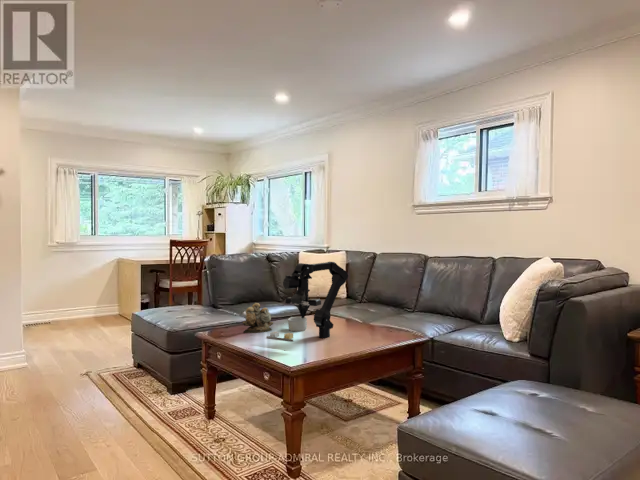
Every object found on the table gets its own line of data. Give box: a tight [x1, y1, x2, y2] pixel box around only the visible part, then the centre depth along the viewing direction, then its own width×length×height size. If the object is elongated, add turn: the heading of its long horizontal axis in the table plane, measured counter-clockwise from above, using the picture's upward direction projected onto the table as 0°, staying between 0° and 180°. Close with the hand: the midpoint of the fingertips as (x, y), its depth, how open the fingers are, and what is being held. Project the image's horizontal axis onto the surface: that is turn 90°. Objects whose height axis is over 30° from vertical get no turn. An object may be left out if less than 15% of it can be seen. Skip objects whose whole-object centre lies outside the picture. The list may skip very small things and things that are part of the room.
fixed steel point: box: [269, 331, 280, 338], centre depth 237 cm, size 6×3×2 cm, turn 151°
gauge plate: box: [266, 335, 294, 342], centre depth 236 cm, size 14×19×2 cm
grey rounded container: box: [287, 316, 308, 332], centre depth 257 cm, size 14×11×8 cm
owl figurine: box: [242, 302, 274, 334], centre depth 254 cm, size 18×12×17 cm, turn 120°
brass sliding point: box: [283, 332, 294, 339], centre depth 233 cm, size 5×3×2 cm, turn 151°
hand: (302, 318), depth 229 cm, fingers closed
